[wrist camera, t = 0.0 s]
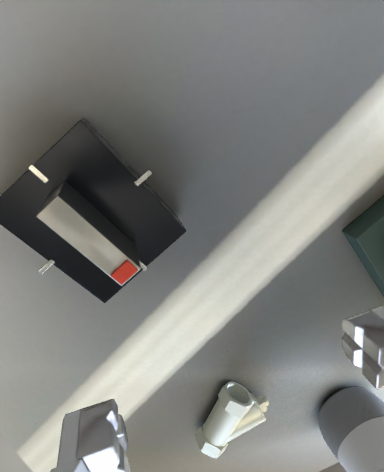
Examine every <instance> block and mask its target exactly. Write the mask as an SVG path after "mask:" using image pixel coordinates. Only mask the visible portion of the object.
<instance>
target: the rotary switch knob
mask: <svg viewBox="0 0 384 472" xmlns="http://www.w3.org/2000/svg"><path fill="white" fill-rule="evenodd" d="M36 217H37V218H39V219H40V220H41V221H42V222H44V223H45V224H46V225H47V226H49V227H50V228H51V229H52V230H53V231H55V232H56V233H57V234H58V235H60V236H61V237H62V238H63V239H65V240H66V241H67V242H68V243H69V244H71V245H72V246H73V247H74V248H76V249H77V250H78V251H79V252H80V253H82V254H83V255H84V256H85V257H87V258H88V259H89V260H90V261H92V262H93V263H94V264H95V265H96V266H98V267H99V268H100V269H101V270H103V271H104V272H105V273H106V274H107V275H109V276H110V277H111V278H112V279H114V280H115V281H116V282H117V283H119V284H120V285H121V286H122V285H124V284H125V283H126V282H127V281H128V280H129V279H130V278H131V277H133V276H134V275H135V274H136V273H137V272H138V271H139V270H141V267H140V262H139V257H138V253H137V248H136V245H135V244H134V243H133V242H132V241H131V240H130V239H129V238H128V237H127V236H126V235H124V234H123V233H122V232H121V231H120V230H119V229H118V228H117V227H116V226H115V225H114V224H112V223H111V222H110V221H109V220H108V219H107V218H106V217H105V216H104V215H103V214H102V213H100V212H99V211H98V210H97V209H96V208H95V207H94V206H93V205H92V204H91V203H90V202H88V201H87V200H86V199H85V198H84V197H83V196H82V195H81V194H80V193H79V192H78V191H76V190H75V189H74V188H73V187H72V186H71V185H70V184H69V183H68V182H67V181H63V182H62V183H61V184H60V185H59V186H58V187H57V188H56V189H55V190H54V191H53V192H52V193H51V194H50V195H49V196H48V197H47V198H46V200H45V201H44V203H43V205H42V207H41V208H40V210H39V212H38V214H37V215H36Z"/></svg>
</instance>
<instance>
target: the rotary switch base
mask: <svg viewBox="0 0 384 472" xmlns="http://www.w3.org/2000/svg"><path fill="white" fill-rule="evenodd" d="M28 169H29V170H28V171H27V172H26V173H24V174H23V175H22V176H21V177H20V178H19V179H18V180H17V181H16V182H15V183H14V184H13V185H12V186H11V187H10V188H9V189H8V190H7V191H6V192H5V193H4V194H2V195H1V196H0V224H1V225H2V226H3V227H5V228H6V229H7V230H9V231H10V232H11V233H13V234H14V235H15V236H17V237H18V238H19V239H21V240H22V241H23V242H25V243H26V244H27V245H29V246H30V247H31V248H33V249H34V250H35V251H36V252H38V253H39V254H40V255H42V256H43V257H44V258H46V259H47V260H48V262H47V263H46V264H45V265H44V266H42V267H41V268H40V269H39V270H38V272H39V273H40V274H43V273H44V272H45V271H46V270H47V269H48V268H49V267H50V266H51V265H52V264H54V265H55V266H56V267H58V268H59V269H60V270H62V271H63V272H64V273H66V274H67V275H68V276H69V277H71V278H72V279H73V280H75V281H76V282H77V283H79V284H80V285H81V286H83V287H84V288H85V289H87V290H88V291H89V292H91V293H92V294H93V295H95V296H96V297H97V298H99V299H100V300H101V301H102V302H104V303H106V302H107V301H108V300H109V299H110V298H111V297H112V296H113V295H115V294H116V293H117V292H118V291H119V290H120V289H121V288H123V287H124V286H125V285H126V284H127V283H128V282H129V281H130V280H132V279H133V278H134V277H135V276H136V275H137V274H138V273H139V272H141V271H142V270H144V271H145V270H146V269H147V268H148V267H147V265H149V264H150V263H151V262H152V261H153V260H154V259H155V258H156V257H158V256H159V255H160V254H161V253H162V252H163V251H164V250H165V249H167V248H168V247H169V246H170V245H171V244H172V243H173V242H174V241H176V240H177V239H178V238H179V237H180V236H181V235H182V234H184V233H185V232H186V229H185V228H184V226H183V225H182V223H181V221H180V220H179V218H178V216H177V215H176V214H175V213H174V212H173V211H172V210H171V209H170V208H169V207H168V206H167V205H166V204H165V203H164V202H163V201H162V200H161V198H160V197H159V196H158V195H157V194H156V193H155V192H154V191H153V190H152V189H151V188H150V187H149V186H148V185H147V184H146V183H145V182H144V180H145V179H146V178H148V177H149V176H150V175H151V174H152V172H151V171H150V170H149V169H148V170H147V171H146V172H145V173H144V174H143V175H142V176H141V177H140V176H139V175H138V174H137V173H136V172H135V171H134V170H133V169H132V168H131V167H130V166H129V165H128V164H127V163H126V161H125V160H124V159H123V158H122V157H121V156H120V155H119V154H118V153H117V152H116V151H115V150H114V149H113V148H112V147H111V146H110V145H109V143H108V142H107V141H106V140H105V139H104V138H103V137H102V136H101V135H100V134H99V133H98V132H97V131H96V130H95V129H94V128H93V127H92V126H91V124H90V123H89V122H88V121H87V120H86V119H85V118H84V117H83V118H82V119H81V120H80V121H79V122H78V123H77V124H76V125H75V126H74V127H73V128H72V129H71V130H70V131H69V132H67V133H66V134H65V135H64V136H63V137H62V138H61V139H60V140H59V141H58V142H57V143H56V144H55V145H54V146H53V147H52V148H51V149H50V150H49V151H48V152H47V153H45V154H44V155H43V156H42V157H41V158H40V159H39V160H38V161H37V162H36V163H35V164H34V165H33V164H32V165H31V166H29V167H28ZM63 181H67V182H68V183H69V184H70V185H71V186H72V187H73V188H74V189H75V190H76V191H78V192H79V193H80V194H81V195H82V196H83V197H84V198H85V199H86V200H87V201H88V202H90V203H91V204H92V205H93V206H94V207H95V208H96V209H97V210H98V211H99V212H100V213H102V214H103V215H104V216H105V217H106V218H107V219H108V220H109V221H110V222H111V223H112V224H114V225H115V226H116V227H117V228H118V229H119V230H120V231H121V232H122V233H123V234H124V235H126V236H127V237H128V238H129V239H130V240H131V241H132V242H133V243H134V244H135V245H136V248H137V253H138V257H139V262H140V267H141V270H139V271H138V272H137V273H136V274H135V275H134V276H133V277H131V278H130V279H129V280H128V281H127V282H126V283H125V284H124V285H122V286H121V285H120V284H119V283H117V282H116V281H115V280H114V279H112V278H111V277H110V276H109V275H107V274H106V273H105V272H104V271H103V270H101V269H100V268H99V267H98V266H96V265H95V264H94V263H93V262H92V261H90V260H89V259H88V258H87V257H85V256H84V255H83V254H82V253H80V252H79V251H78V250H77V249H76V248H74V247H73V246H72V245H71V244H69V243H68V242H67V241H66V240H65V239H63V238H62V237H61V236H60V235H58V234H57V233H56V232H55V231H53V230H52V229H51V228H50V227H49V226H47V225H46V224H45V223H44V222H42V221H41V220H40V219H39V218H37V217H36V215H37V214H38V212H39V210H40V208H41V207H42V205H43V203H44V201H45V200H46V198H47V197H48V196H49V195H50V194H51V193H52V192H53V191H54V190H55V189H56V188H57V187H58V186H59V185H60V184H61V183H62V182H63Z"/></svg>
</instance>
